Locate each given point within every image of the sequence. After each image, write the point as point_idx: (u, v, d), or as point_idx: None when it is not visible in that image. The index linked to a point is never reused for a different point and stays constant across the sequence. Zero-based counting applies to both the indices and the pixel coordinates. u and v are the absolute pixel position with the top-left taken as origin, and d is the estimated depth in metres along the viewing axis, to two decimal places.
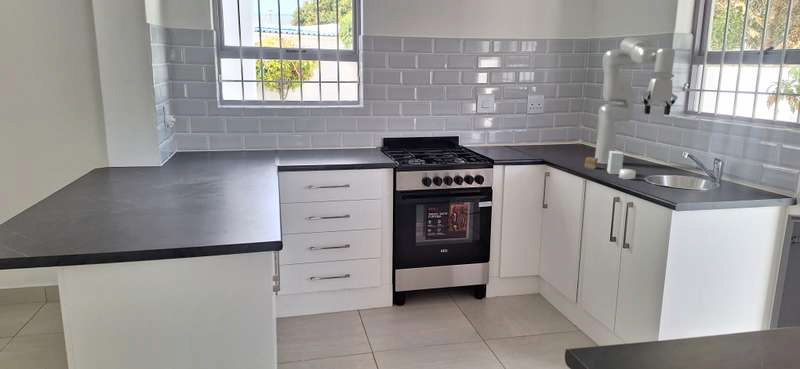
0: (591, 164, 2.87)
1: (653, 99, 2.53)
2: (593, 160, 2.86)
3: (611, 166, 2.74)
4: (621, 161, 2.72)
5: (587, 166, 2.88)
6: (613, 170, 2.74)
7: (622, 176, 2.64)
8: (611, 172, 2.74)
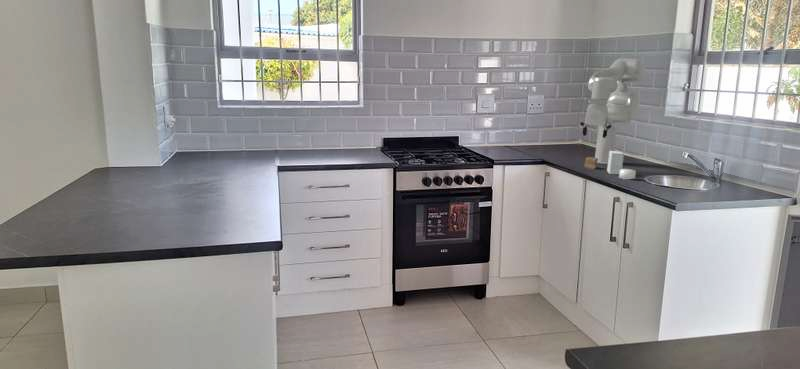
0: (591, 164, 2.87)
1: None
2: (593, 160, 2.86)
3: (611, 166, 2.74)
4: (621, 161, 2.72)
5: (587, 166, 2.88)
6: (613, 170, 2.74)
7: (622, 176, 2.64)
8: (611, 172, 2.74)
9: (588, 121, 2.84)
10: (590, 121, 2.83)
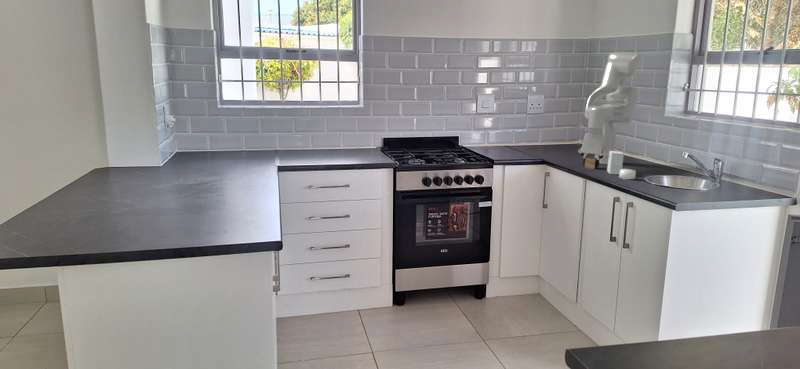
0: (591, 163, 2.87)
1: None
2: (593, 160, 2.86)
3: (611, 166, 2.74)
4: (621, 161, 2.72)
5: (587, 166, 2.88)
6: (613, 170, 2.74)
7: (622, 176, 2.64)
8: (611, 172, 2.74)
9: (585, 150, 2.87)
10: (587, 150, 2.86)
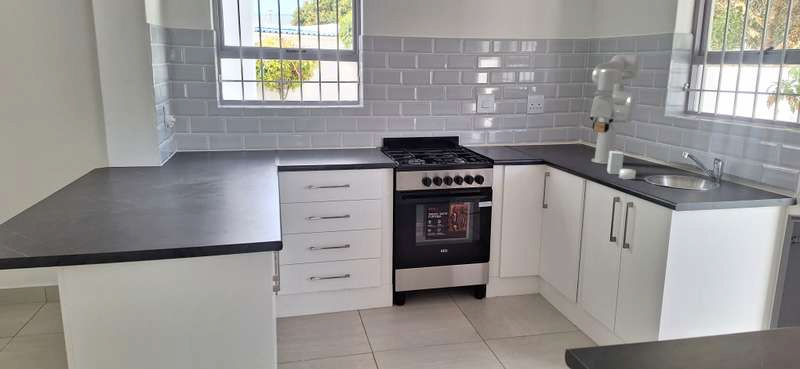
0: (600, 127, 2.80)
1: None
2: (602, 123, 2.79)
3: (611, 166, 2.74)
4: (621, 161, 2.72)
5: (596, 130, 2.81)
6: (613, 170, 2.74)
7: (622, 176, 2.64)
8: (611, 172, 2.74)
9: (594, 113, 2.80)
10: (596, 113, 2.80)
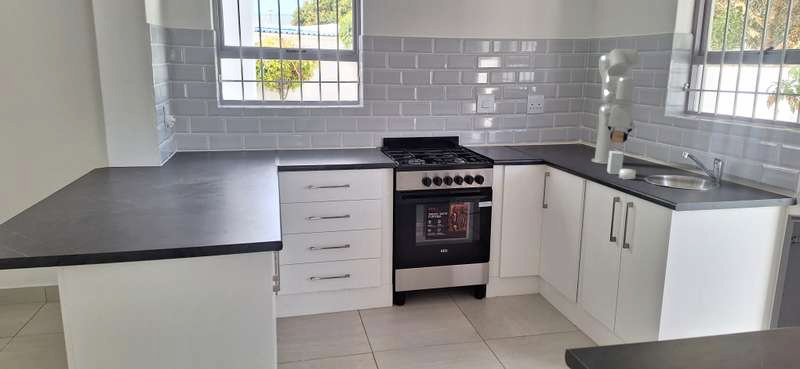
0: (619, 137, 2.71)
1: None
2: (621, 133, 2.70)
3: (611, 166, 2.74)
4: (621, 161, 2.72)
5: (615, 140, 2.73)
6: (613, 170, 2.74)
7: (623, 176, 2.64)
8: (611, 172, 2.74)
9: (612, 122, 2.72)
10: (614, 122, 2.71)
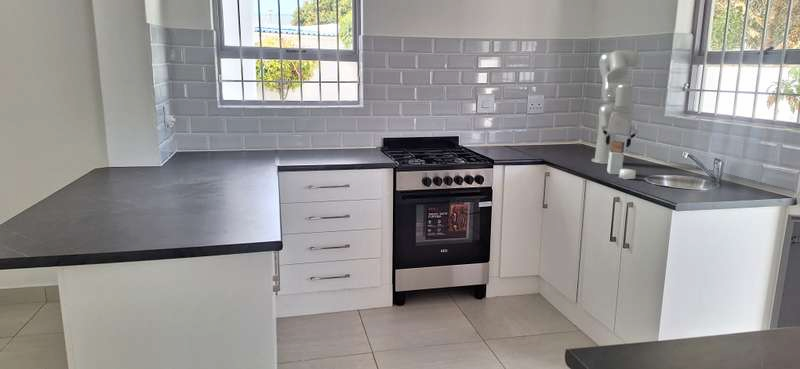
0: (617, 148, 2.73)
1: None
2: (620, 144, 2.72)
3: (611, 166, 2.74)
4: (621, 161, 2.72)
5: (613, 150, 2.74)
6: (613, 170, 2.74)
7: (623, 176, 2.64)
8: (611, 172, 2.74)
9: (611, 129, 2.73)
10: (613, 129, 2.72)
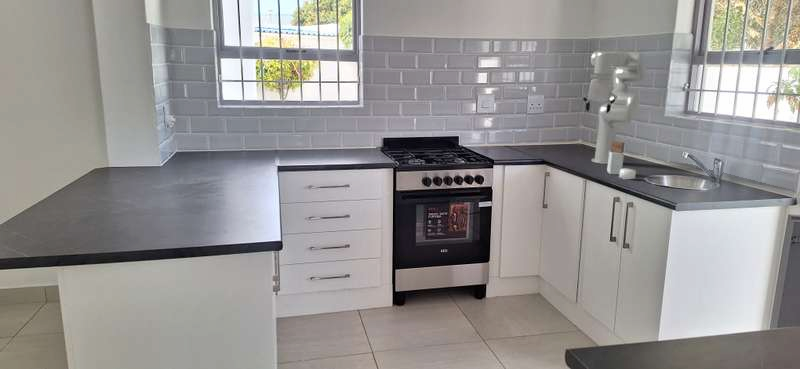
0: (617, 148, 2.73)
1: None
2: (620, 144, 2.72)
3: (611, 166, 2.74)
4: (621, 161, 2.72)
5: (613, 150, 2.74)
6: (613, 170, 2.74)
7: (624, 176, 2.64)
8: (611, 172, 2.74)
9: (591, 96, 2.82)
10: (593, 96, 2.81)
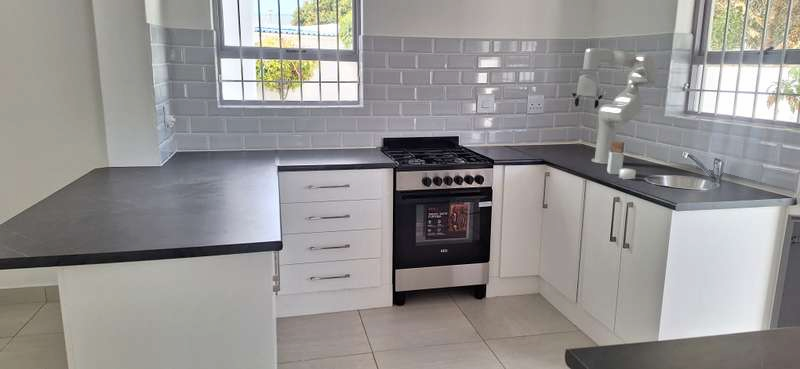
0: (617, 148, 2.73)
1: None
2: (620, 144, 2.72)
3: (611, 166, 2.74)
4: (621, 161, 2.72)
5: (613, 150, 2.74)
6: (613, 170, 2.74)
7: (624, 176, 2.63)
8: (611, 172, 2.74)
9: (580, 92, 2.88)
10: (582, 91, 2.87)
